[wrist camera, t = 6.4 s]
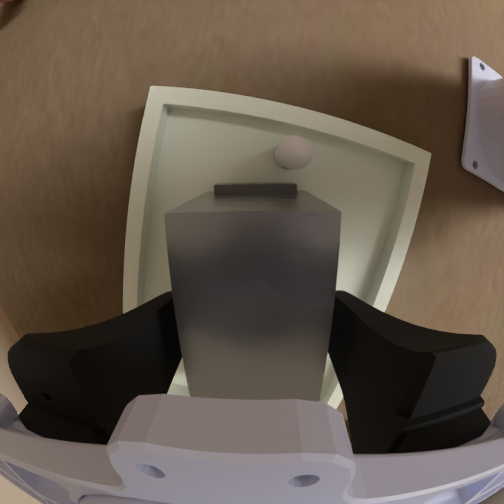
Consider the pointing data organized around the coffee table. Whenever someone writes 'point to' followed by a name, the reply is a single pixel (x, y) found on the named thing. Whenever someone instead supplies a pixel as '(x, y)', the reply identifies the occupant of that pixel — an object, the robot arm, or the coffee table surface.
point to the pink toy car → (5, 1)
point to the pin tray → (271, 170)
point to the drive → (254, 289)
